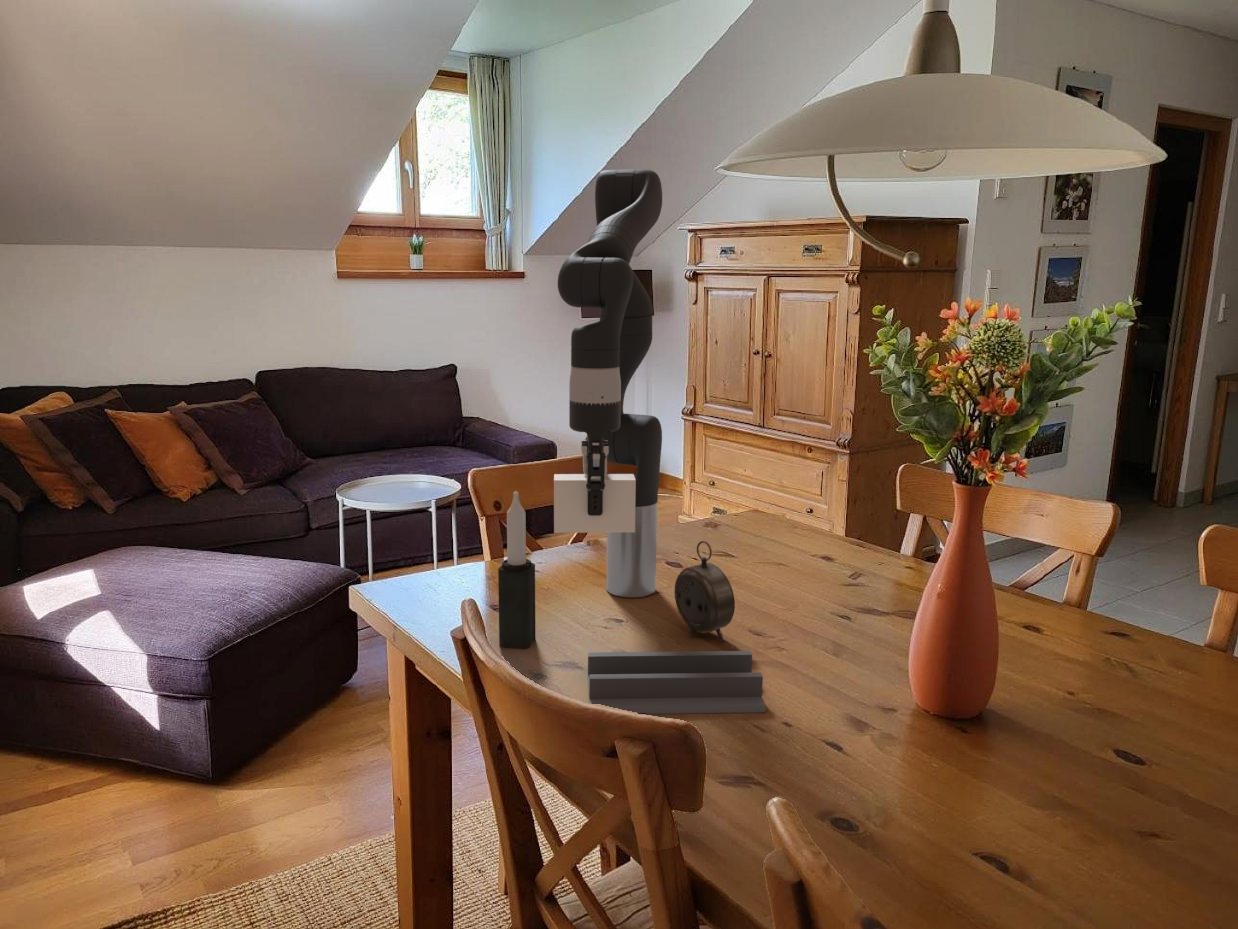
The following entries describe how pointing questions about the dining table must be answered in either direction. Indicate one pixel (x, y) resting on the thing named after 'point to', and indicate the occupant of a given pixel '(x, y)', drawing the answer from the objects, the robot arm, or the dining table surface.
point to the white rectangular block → (575, 504)
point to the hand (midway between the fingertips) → (594, 510)
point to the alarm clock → (704, 597)
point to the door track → (675, 682)
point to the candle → (516, 584)
